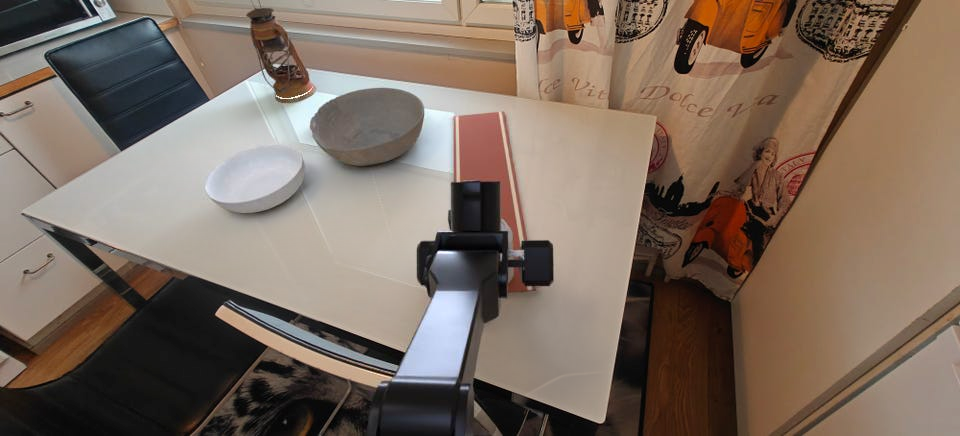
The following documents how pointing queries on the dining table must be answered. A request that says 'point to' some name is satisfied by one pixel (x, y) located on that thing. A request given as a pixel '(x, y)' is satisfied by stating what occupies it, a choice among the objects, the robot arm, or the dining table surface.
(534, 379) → the dining table surface
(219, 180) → the serving bowl
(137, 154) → the dining table surface
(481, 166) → the red table runner
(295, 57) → the lantern
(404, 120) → the bowl
